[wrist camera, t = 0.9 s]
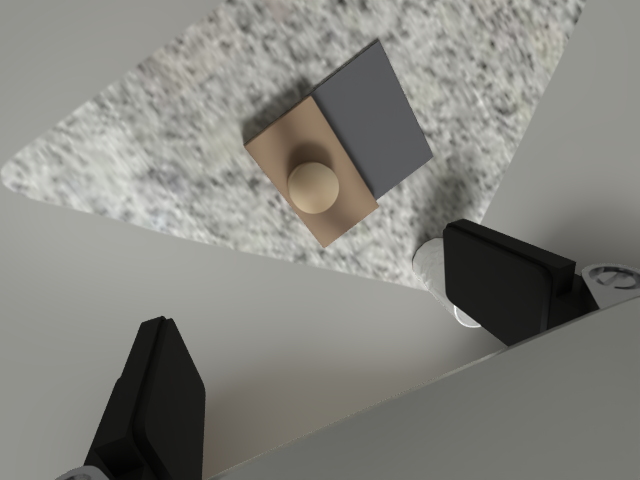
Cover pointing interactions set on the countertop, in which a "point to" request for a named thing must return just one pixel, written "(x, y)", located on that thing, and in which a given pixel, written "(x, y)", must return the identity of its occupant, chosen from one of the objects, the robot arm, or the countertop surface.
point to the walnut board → (320, 146)
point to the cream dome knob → (312, 187)
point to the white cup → (437, 277)
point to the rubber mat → (373, 121)
